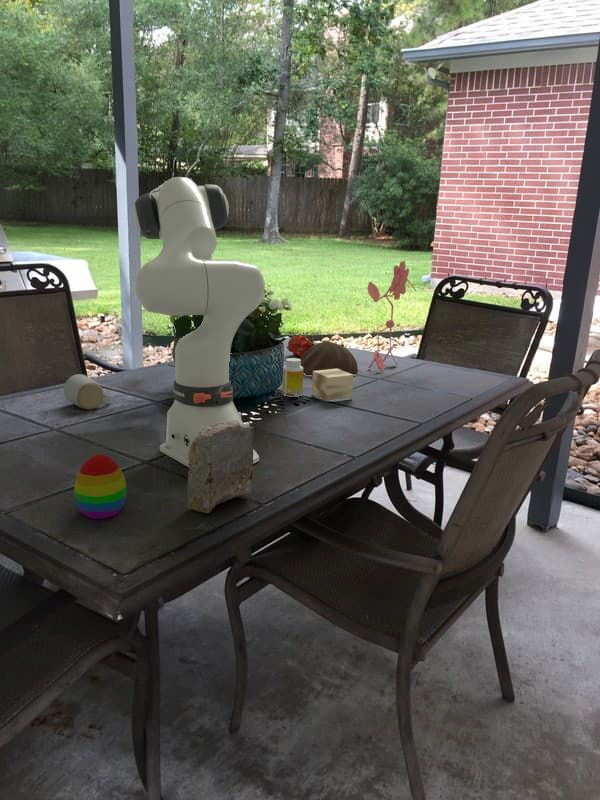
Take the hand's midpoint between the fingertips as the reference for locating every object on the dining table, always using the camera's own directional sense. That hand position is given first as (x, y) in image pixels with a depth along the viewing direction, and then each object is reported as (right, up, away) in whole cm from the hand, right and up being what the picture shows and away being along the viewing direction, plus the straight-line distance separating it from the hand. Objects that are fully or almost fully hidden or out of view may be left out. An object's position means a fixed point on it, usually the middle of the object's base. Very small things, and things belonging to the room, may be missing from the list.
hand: (283, 375), depth 181 cm
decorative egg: (-28, -25, -72) cm, 81 cm away
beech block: (+13, -6, 0) cm, 15 cm away
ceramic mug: (-48, -8, -14) cm, 51 cm away
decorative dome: (+13, +2, +30) cm, 33 cm away
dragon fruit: (+5, +8, +50) cm, 51 cm away
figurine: (+35, +3, +35) cm, 49 cm away
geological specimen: (-9, -25, -68) cm, 73 cm away
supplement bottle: (+3, -6, +1) cm, 6 cm away
